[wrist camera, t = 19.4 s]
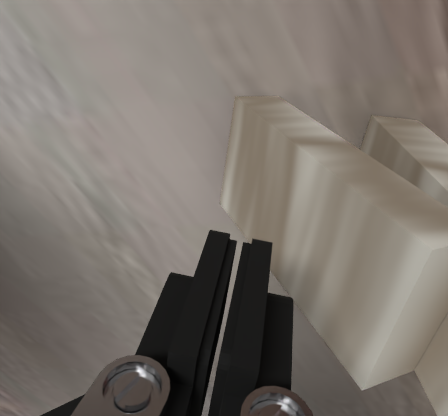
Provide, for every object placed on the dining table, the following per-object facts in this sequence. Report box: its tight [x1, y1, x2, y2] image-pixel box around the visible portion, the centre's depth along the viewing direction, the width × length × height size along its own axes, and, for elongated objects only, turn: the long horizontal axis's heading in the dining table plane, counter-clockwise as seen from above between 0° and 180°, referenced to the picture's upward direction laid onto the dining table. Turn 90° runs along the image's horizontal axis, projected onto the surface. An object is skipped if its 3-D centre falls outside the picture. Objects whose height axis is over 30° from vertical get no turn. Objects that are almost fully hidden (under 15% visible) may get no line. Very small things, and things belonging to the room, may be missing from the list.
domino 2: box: [360, 115, 448, 416], centre depth 14 cm, size 2×5×10 cm, turn 173°
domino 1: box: [220, 96, 448, 391], centre depth 14 cm, size 2×5×10 cm
